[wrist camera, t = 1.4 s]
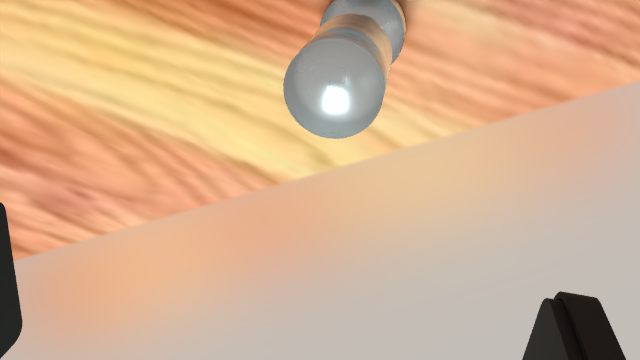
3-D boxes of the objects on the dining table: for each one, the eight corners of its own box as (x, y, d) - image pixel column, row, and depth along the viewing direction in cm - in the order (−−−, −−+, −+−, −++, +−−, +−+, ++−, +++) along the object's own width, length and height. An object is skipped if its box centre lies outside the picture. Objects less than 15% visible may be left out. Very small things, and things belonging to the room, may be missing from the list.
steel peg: (411, -10, 33) (402, 38, 22) (399, 72, 36) (384, 155, 24) (328, -19, 34) (277, 23, 22) (321, 62, 36) (270, 138, 25)
